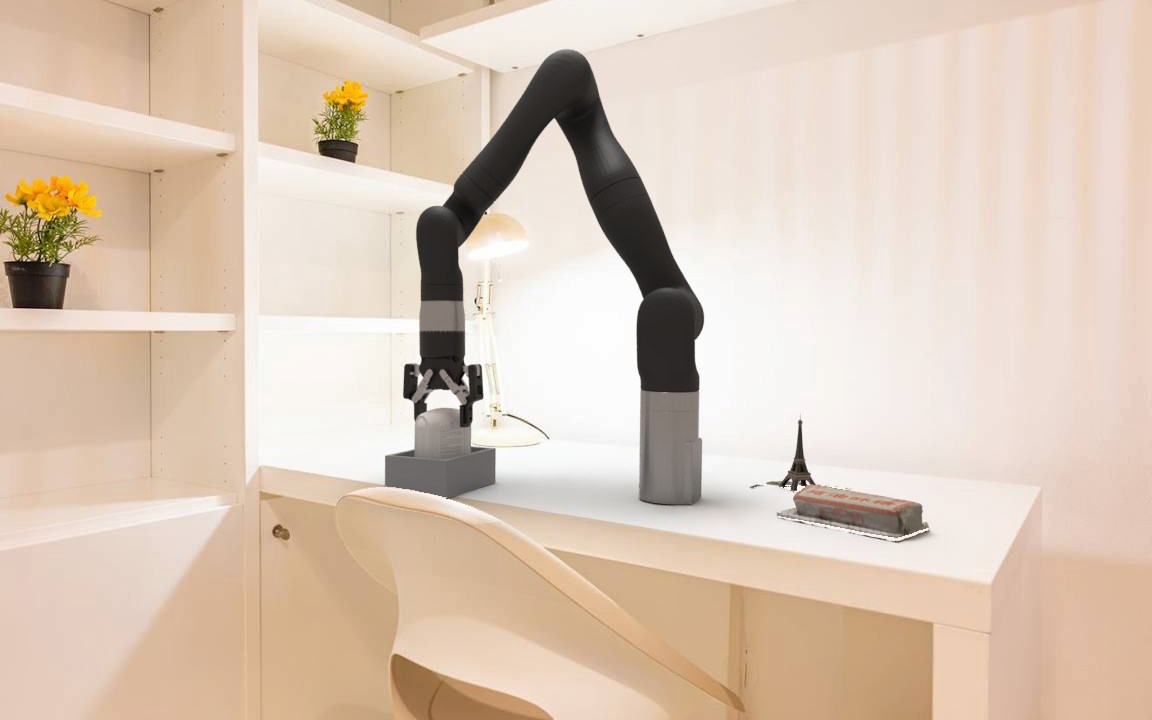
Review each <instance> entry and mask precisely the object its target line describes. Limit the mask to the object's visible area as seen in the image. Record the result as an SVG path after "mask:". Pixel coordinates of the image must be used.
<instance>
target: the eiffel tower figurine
mask: <svg viewBox="0 0 1152 720" xmlns="http://www.w3.org/2000/svg"><path fill="white" fill-rule="evenodd" d="M801 417H802V415H801V413H800V414H799V420H797V425H798V427H797V438H796V440H797V441H796V448H795V455H794V458H793V461H792V465H791V467H790V469H789V470H787V475H786V476H785V477H784V479H783V480H781V481H780V480H778V481H767V482H766V483H765V484H767V485H770V486H777V487H778V486H779V487H778V488H780V487H783V488H784V487H787V486H785V485H791V486H790V487H791V490H790V491H797V486H798V484H799V485H801V486H807V484H806V483H809V484H812V485H816V484H817V483H816V482H815V481H814V479H813V478H812V476H811V475H812V473H811V472H809V470H808V467H807V464H806V458H805V455H804V444H803V442H804V441H803V420H801V419H802V418H801ZM790 480H791V481H790ZM757 486H758V487H757ZM754 487H756V488H759V487H764V485H763V484H754V485H751V486H750V488H752V489H755V488H754ZM788 487H789V486H788ZM783 488H782V489H783ZM790 491H789V492H790Z"/></svg>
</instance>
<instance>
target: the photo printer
mask: <svg viewBox="0 0 1152 720" xmlns="http://www.w3.org/2000/svg"><path fill="white" fill-rule="evenodd" d="M471 446H472V423H470V426H469V427H465V428H463V427H460V408H455V407H453V408H452V407H438V408H432V409H430V410H427V411H426V412H424V413H422V414H420V415H419V416H418V417H417V419H416V421H415V420H414V457H418V458H429V459H441V460H446V459H450V458H454V457H458V456H462V455H466V454H470V453H471Z"/></svg>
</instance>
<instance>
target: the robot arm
mask: <svg viewBox="0 0 1152 720" xmlns="http://www.w3.org/2000/svg"><path fill="white" fill-rule="evenodd" d="M599 92H600V91H599V87H598V84H597V81H596V77H595V75H594V72H593V69H592V66H591V64H590V62H589V61H588V59H587V58H586V56H585V55H583V54H582V53H581V52H579V51H578V50H574V49H569V48H565V49H560V50H557V51H555V52H553V53H551V54H549V55H548V56H547V57H546V58H545V59H544V61H542V63H541V64H540V65H539V67H538V69H537V70H536V72H535V73H534V74H533V76H532V78H531V80H530V81H529V84H528V85H527V86H526V88H525V90H524V91H523V93H522V95H521V96H520V98H519V99H518V101H517V102H516V103H515V105H514V106H513V108H512V109H511V111H510V112H509V114H508V116H507V117H506V118H505V120H504V121H503V123H501V125H500V127H499V128H498V129H497V131H496V133H495V134H493V136H492V137H491V139H490V140H489V141H488V142H487V144H485V145H484V147H483V148H482V150H480V152H479V153H478V154H477V155H476V156H475V158H473V160H472V161H471V162H470V163H469V164H468V166H467V167H466V168H465V169H464V170H463V172H462V173H461V174H460V175H459V176H458V177H457V179H456V181H455V182H454V185H453V191H452V193H451V194H450V196H449V197H448V198H447V199H446V200H445V202H444V203H443V205H433V206H432V205H431V206H429V207H426V208H425V209H424V210H423V211H422V212H421V213H420V215H419V217H418V219H417V222H416V227H415V228H416V229H415V240H416V249H417V256H418V263H419V267H420V305H419V306H420V308H419V314H418V315H419V316H418V318H419V319H418V320H419V323H418V324H419V325H418V326H419V341H418V342H419V344H418V345H419V356H420V359H421V361H420V364H418V363H415V362H414V363H410V362H409V363H405V364H404V365H403V368H404V369H403V384H402V385H403V386H402V387H403V389H402V390H403V391H402V397H403V399H405V400H409V401H412V403H413V419H414V422H415V421H416V419H417V417H418V416H419V415H420V414H422V413H424V412H426V411H428V403H427V402H426V400H427V399H428V398H429V396H430V395H431V393H433V392H434V391H436V390H437V391H438V390H442V391H451V393H452V394H453V395H454V396H455V397H456V398H457V399H458V401H459V403H460V405H459V409H460V427H463V428H465V427H469V426H470V423H471V424H473V421H474V419H473V418H474V416H473V414H474V413H473V412H474V410H473V405H474V404H475V403H476V402H479V401H482V400H483V399H484V381H483V368H482V367H483V366H482V365H481V364H480V363H477V364H476V363H474V364H473V363H471V364H468V365H466V363H465V357H466V313H465V307H464V305H465V304H464V276H463V271H462V270H461V268H460V263H459V248H460V247H461V246H462V245H464V243H465V242H466V241H467V240H468V239H469V237H470V236H471V235H472V234H473V232H474V230H475V229H476V227H477V226H478V224H479V223H480V221H481V219H482V218H483V216H484V214H485V213H486V212H487V211H488V209H490V207H491V206H492V205H493V204H494V203H495V202H496V201H497V199H499V198H500V197H501V195H502V194H503V193H504V192H505V190H507V189H508V187H509V186H510V185H511V184H512V182H513V181H514V179H515V178H516V177H517V175H518V173H519V172H520V170H521V169H522V167H523V165H524V163H525V161H526V160H527V157H528V156H529V153H530V152H531V150H532V148H533V147H534V145H535V144H536V141H537V140H538V139H539V137H540V136H541V134H542V133H543V132H544V130H545V128H547V126H548V125H549V124H550V123H551V122H552V121H553V120H555V121H556V123H557V125H558V127H560V130H561V131H562V133H563V135H564V137H565V139H566V140H567V142H568V144H569V145H570V148H571V150H572V152H573V155H574V157H575V161H576V164H577V165H576V166H577V168H578V173H579V176H580V180H581V183H582V186H583V189H584V192H585V196H586V198H587V201H588V202H589V203H588V204H589V205H590V208H591V210H592V213H593V214H594V216H595V218H596V221H597V223H598V226H599V227H600V229H601V230H602V233H603V234H604V236H605V237H606V239H607V241H608V242H609V243H610V245H611V247H613V249H614V250H615V252H616V253H617V254H618V256H620V258H621V260H622V261H623V262H624V263H625V265H626V266H627V268H628V269H629V272H631V274H632V276H633V278H634V279H635V282H636V283H637V285H638V286H637V287H638V289H639V291H640V293H641V296H642V299H643V300H642V301H641V302H640V305H639V306H638V310H637V314H636V327H635V328H636V333H635V334H636V366H637V367H636V368H637V373H638V375H639V378H640V391H639V392H640V400H639V401H640V409H639V465H638V466H639V471H638V473H639V476H638V478H639V481H638V482H639V483H638V488H639V491H638V492H639V493H638V494H639V495H638V498H639V499H640V500H642V501H644V502H649V503H654V504H663V505H692V504H694V503H695V502H697V501H698V500H699V499H701V498H702V483H703V482H702V480H703V478H702V476H703V475H702V473H703V470H702V469H703V438H701V437H699V434H700V433H699V431H700V430H699V429H700V427H699V426H700V374H699V372H698V369H697V368H698V367H697V365H696V340H697V338H699V336H700V334H701V333H702V332H703V328H704V325H705V313H704V308H703V305H702V304H701V303H702V302H700V300H699V299H698V296H697V295H696V293H695V292H694V290H693V288H692V287H691V285H690V284H689V282H688V281H687V278H686V277H685V275H684V274H683V272H682V270H681V268H680V266H679V265H678V263H677V261H676V258H675V257H674V254H673V252H672V250H671V248H670V245H669V242H668V239H667V236H666V234H665V231H664V229H663V226H662V223H661V221H660V219H659V215H658V214H657V212H656V209H655V207H654V205H653V202H652V199H651V196H650V194H649V192H648V191H647V189H646V185H645V184H644V182H643V180H642V177H641V175H640V173H639V172H638V170H637V168H636V166H635V165H634V163H633V161H632V160H631V158H630V157H629V155H628V153H627V152H626V151H625V150H624V148H623V146H622V145H621V144H620V142H619V141H618V140H617V139H618V138H616V136H615V134H614V132H613V130H612V128H611V126H610V123H609V119H608V117H607V115H606V111H605V109H604V106H603V102H602V99H601V96H600V93H599ZM420 375H421V376H422V379H421V380H420V382H419V376H420ZM464 375H466V377H467V378H468V384H467V383H466V382H465V380H464V379H463V377H464ZM418 383H419V384H418Z"/></svg>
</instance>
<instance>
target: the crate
mask: <svg viewBox="0 0 1152 720" xmlns="http://www.w3.org/2000/svg"><path fill="white" fill-rule="evenodd" d="M496 450H497V449H496V447H484V446H472V445H471V453H470V454H466V455H462V456H458V457H454V458H450V459H446V460H441V459H429V458H418V457H414V449H409V450H405V451H401V452H395V453H390V454H386V455H384V487H385V486H387V487H396V488H402V489H410V490H415V491H419V492H424V493H430V494H434V495H438V496H442V497H447V498H448V499H450V498H454V497H456V496H459V495H462V494H466V493H468V492H471V491H475V490H477V489H480V488H483V487H487V486H489V485H492V484H494V483H495V484H496V466H497V465H496V459H497V458H496V453H497V451H496Z"/></svg>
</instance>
